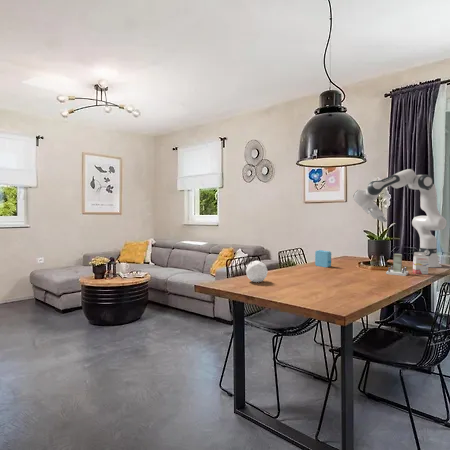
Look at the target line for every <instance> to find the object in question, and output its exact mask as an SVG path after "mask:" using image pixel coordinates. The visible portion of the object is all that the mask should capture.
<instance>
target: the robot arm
mask: <svg viewBox="0 0 450 450" xmlns="http://www.w3.org/2000/svg"><path fill="white" fill-rule="evenodd" d="M388 187H392V188H393V189H400V188H402V187H406V188H407V189H409V190H415V191H416V190H417V191H418V190H419V192H420V197H419V199H420V201H419V202H420V209H421V210H422V211H424V212H425V214H426V215H417V216H414V217H413V219H412V221H411V225H412V227H413V228H414V229H415V230H416V231H417V233H418V236H419V249H418V252H426V257H429V266H428V268H442V267H443V266H442V265H441V264H440V258H439V257H440V256H439V255H438V254H437V253H438V249H437V237H436V236H435V235H433V234H432V232H431V231H443V230H444V229H445V228H446V227H447V225H448V224H447V223H448V221H447V219H446V218H445V217H444V216H443V215H442V214H441V213H440V210H439V208H438V203H437V202H438V197H437V196H438V194H437V189H436V185H435V184H434V180H433V178H432V176H431V175H428V174H416V173H415V171H414V169H412V168H408V169H404V170H401V171H398V172H396V173H394V174H392V175H389V176H387V177H384V178H383V179H380V180H372V181H370V182H369V184H368V186H367V188H366V189H357V190H356V191H355V192H354V194H353V197H352V198H353V200H354V201H355V203H356V204H357V205H358V206H359V207H361V208H362V210H363V211H364V212H365V213H366V214H367V215H368V214H369V215H370V216H371V217H372V219H374V220H377V221H379V222H380V223H382V224H383V223H386V222H387V221H388V220H387V219H386V217H385V213H384V212H383V211H382V210H381V209H380V208H379V205H377V204H376V203H375V201H376V200H377V199H378V197H379V196H380V194H381V193H382V192H383V190H384V189H386V188H388ZM418 255H422V254H420V253H419V254H418Z"/></svg>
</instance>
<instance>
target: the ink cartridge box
mask: <svg viewBox="0 0 450 450" xmlns="http://www.w3.org/2000/svg"><path fill="white" fill-rule="evenodd" d="M419 253H420V254H422V255H418V254H419ZM428 266H429V257H426V252H419V251H414V252H413V261H412V273H413V274H415V275H429V267H428Z"/></svg>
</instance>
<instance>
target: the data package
mask: <svg viewBox="0 0 450 450" xmlns="http://www.w3.org/2000/svg"><path fill="white" fill-rule="evenodd" d="M314 255H315V256H314V257H315V259H314V265H315V266H316V267H321V268H322V267H323V268H330V267H331V266H332V252H331V251H329V250H321V249H319V250H316V251H315V254H314Z"/></svg>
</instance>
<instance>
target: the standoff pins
mask: <svg viewBox="0 0 450 450" xmlns="http://www.w3.org/2000/svg"><path fill="white" fill-rule="evenodd" d="M390 269H391V270H393V265H390V267H389V266H388V270H387V271H388V272H390ZM404 271H407V266H404V268H402V273H404Z"/></svg>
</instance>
